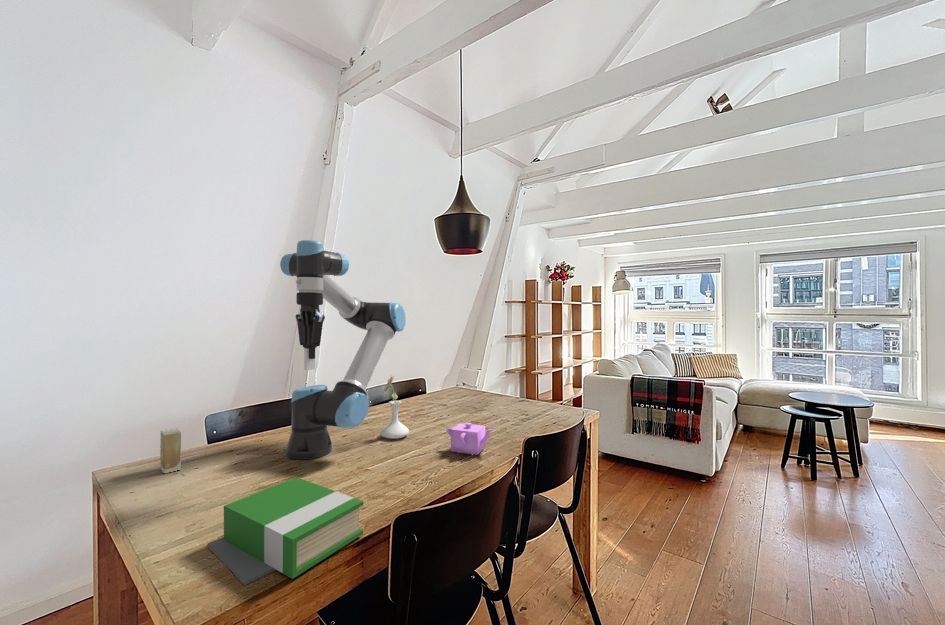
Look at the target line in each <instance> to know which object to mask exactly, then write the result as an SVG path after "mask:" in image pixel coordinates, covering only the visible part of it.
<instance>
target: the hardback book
mask: <svg viewBox="0 0 945 625" xmlns="http://www.w3.org/2000/svg"><path fill="white" fill-rule="evenodd" d="M363 506H364V500H361V499H358V498H356V497H353V496H350V495H348V494H345V493H342V492H339V491H337V490H333V489H332V488H328V487H326V486H322V485H319V484H318V483H317V484H316V483H314V482H312V481H308V480H306V479H303V478H300V477H298V476H294V477H293V478H290V479H288V480H285V481H283V482H280V483H277V484H275V485H273V486H270V487H267V488H265V489H263V490H259V491H258V492H255V493H252V494H250V495H248V496H244V497H242V498H239V499H237V500H234V501H232V502H229V503H227V504H224V505H223V537H224V540H225V541H227V542H229V543H231V544H232V545H234V546H236V547H238V548H239V549H241V550H243V551H245V552H246V553H248V554H250V555H252V556H253V557H255V558H257V559H259V560H260V561H262V562H264V563H266V564H267V565H269V566H271V567H273V568H274V569H276V570H275V571H277V572H279V573H282V574H283V575H285V576H287V577H288V578H290V579H291V580H294V578H297V577H298V576H300V575H301V574H303V573H304V572H306V571H307V570H309V569H310V568H312V567H314V566H315V565H317V564H319V563H320V562H321V561H323V560H324V559H327V557H330V556H331V555H332V554H334V553H336V552H337V551H339V550H340V549H342V548H344V547H345V546H347V545H348V544H349V543H351V542H353V541H355V540H356V539H357V538H359V537H361V536H363V535H364V529H362V528H360V508H361V507H363Z"/></svg>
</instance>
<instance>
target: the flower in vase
mask: <svg viewBox="0 0 945 625" xmlns="http://www.w3.org/2000/svg"><path fill="white" fill-rule="evenodd" d="M394 377H395V376H394V375H391V376H390V378H388V379H387V383H386V384H384V388H383V390H382V394H386V393H387V391H388V390H389V389H390V387H391V389H392V391H393V393H391V398H392V400H391V401H388V404H389V405H390V409H391V420H390V422H388V423H387V424H386V425H385V426H384V427H382V429H381V430H380V432H379V433H380V436H381V437H383V438H386V439H392V440H393V439H396V440H397V439H401V438H404V437H406V436H408V435H409V434H410V430H409V428H408V427H407V426H406V425H404V424H403V423H402V422H400V420H399V407H400V405H401V403H402V401H401V400H397V399H398V398H399V396H398V395H397V393H396V391H395V390H394V387H393V385H392V383H393V381H394Z"/></svg>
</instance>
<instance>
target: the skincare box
mask: <svg viewBox="0 0 945 625" xmlns="http://www.w3.org/2000/svg"><path fill="white" fill-rule="evenodd" d="M159 445H160V446H159V447H160V449H159V450H160V455H159V456H160V459H159V460H160V461H159V468H160V471H161V470H162V471H161V472H162V473H168V472H172V473H174V472H173V471H176V472H178V471H177V470H180V471H181V470H182V469H181V468H182V467H181V463H182V462H181V460H182V458H181V457H182V451H181V450H182V431H180V430H179V429H178V428H177V427H174V428H168V429H163V430H160V444H159ZM168 474H169V473H168Z"/></svg>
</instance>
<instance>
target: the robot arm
mask: <svg viewBox="0 0 945 625" xmlns="http://www.w3.org/2000/svg"><path fill="white" fill-rule="evenodd" d="M279 267H280V270H281V272H282V273H283V274H284V275H285V276H290V277H296V280H295V283H296V290H297V291H298V292H297V293H296V299H295V300H296V305H297V306H300V309H299V314H296V315H295V319H296V322H297V332H298V339H299V346H302V347H303V350H304V354H303V355H304V356H303V360H304V361H303V363H304V365H303V370H304V371H311V370H315V369H316V349H317V347H320V346H321V341H322V340H321V339H322V333H323V325H324V322H325V319H326V316H325V315H324V314H321V309H320V306H323V304H324V300H325V301H326V302H327V303H328V304H330V305H331V306H332V307H333V308H335V309H336V310H337V311H338V314H339V316H340V317H341V318H343V319H344V320H345V321H346V322H348V323H349V324H351V325H353V326H355V327H357V328H359V329H360V330H365V331H366V334H365V336H364V337H363V339H362V342H361V344H360V346H359V347H358V350H357V351H356V353H355V355H354V358H353V360H352V362H351V363H350V366H349V368H348V370H347V372H346V373H345V376H344V377H343V379H342V380H339V381H337V382H336V383H335V386H334V388H333V389H332V390H328V389H329V388H328V385H326V384H315V385H310V386H309V385H307V386H304V387H299V388H297V389H295V390H293V391H292V393H291V401H290V404H291V405H290V406H291V407H290V408H291V409H290V410H291V411H290V412H291V417H290V418H291V419H290V420H291V421H290V422H291V433H290V434H289V435H290V436H289V438H288V442H287V443H286V448H285V455H286V457H287V458H289V459H293V460H312V459H317V458H321V457H323V456H326V455H328V454H330V453H331V452H332V451H333V442H332V439H331V436H330V433H329V431H328V426H329V427H338V428H342V429H344V428H345V429H346V428H348V429H349V428H352V429H353V428H356V427H358V426H359V425H360V424H362V423H363V422H364V420H365V419H366V417H367V415H368V412H369V409H370V408H369V406H370V401H369V398H368V392H367V390H366V389H367V388H368V386H369V384H370V383H369V382H370V381H371V378H372V376H373V374H374V373H375V372H374V371H375V369H376V367H377V365H378V363H379V360H380V359H381V356H382V354H383V353H384V349H385V348H386V345H387V343H388V341H390V340H392V339H394V337H395V335H396V332H398V333H399V332H402V331H403V330H405V327H406V313H405V309H404V307H403V306H402V305H401V303H399V302H393V301H390V302H367V301H366V302H365V301H362V300H360V299H359V298H357V297H354V296H351V295H350V293H349V292H347V291H346V290H345V289H344V288H343V287H342V286H341V285H339V283H337V282H336V281H335V280H334V279H333V278H332V277H330V276H333V277H340V276H341V277H342V276H344V275H345V274H347V272H348V270H349V268H350V261H349V259H348V257H347V256H346V255H345V254H343V253H340V252H335V251H334V252H333V251H327V250H325V249H324V244H323V242H321V241H319V240H314V239H313V240H312V239H309V240H308V239H304V240H303V239H302V240H300V241H298V242H297V244H296V252H294V253H287V254H286V253H285V255H283V256H282V257H281V260H280V263H279Z"/></svg>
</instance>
